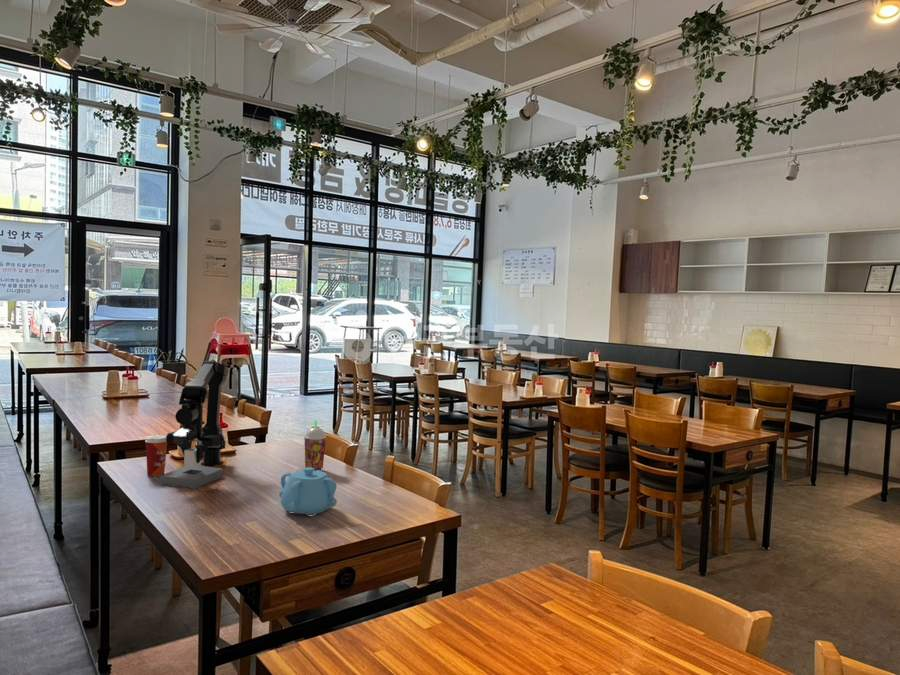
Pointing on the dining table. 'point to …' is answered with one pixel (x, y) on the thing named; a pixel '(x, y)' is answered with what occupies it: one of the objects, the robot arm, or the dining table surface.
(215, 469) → the socket plate
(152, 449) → the paper cup
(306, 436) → the smoothie
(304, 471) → the decorative pot
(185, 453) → the block
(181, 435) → the robot arm
